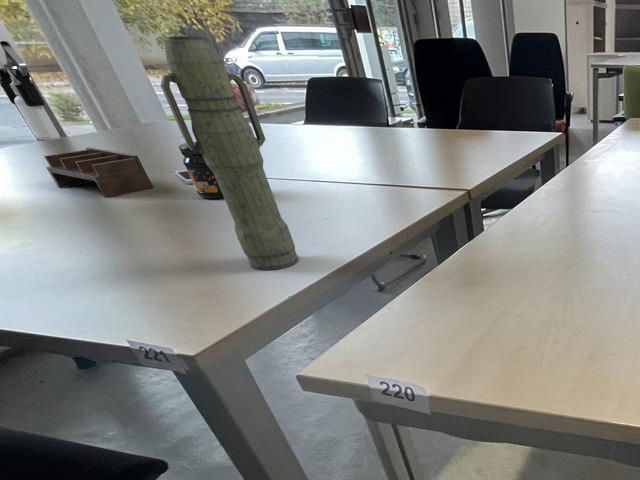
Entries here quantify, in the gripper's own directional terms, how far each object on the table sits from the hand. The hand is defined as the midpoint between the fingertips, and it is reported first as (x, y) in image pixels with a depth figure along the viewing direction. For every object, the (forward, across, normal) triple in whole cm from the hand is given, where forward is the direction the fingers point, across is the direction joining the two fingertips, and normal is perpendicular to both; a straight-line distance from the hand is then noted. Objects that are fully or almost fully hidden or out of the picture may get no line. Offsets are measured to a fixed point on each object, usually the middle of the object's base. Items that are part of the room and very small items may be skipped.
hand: (28, 103), depth 115 cm
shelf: (+21, -13, +11) cm, 27 cm away
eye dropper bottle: (+7, 0, 0) cm, 7 cm away
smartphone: (+21, -3, +30) cm, 37 cm away
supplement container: (+21, +21, +22) cm, 37 cm away
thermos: (+21, +76, -5) cm, 79 cm away
